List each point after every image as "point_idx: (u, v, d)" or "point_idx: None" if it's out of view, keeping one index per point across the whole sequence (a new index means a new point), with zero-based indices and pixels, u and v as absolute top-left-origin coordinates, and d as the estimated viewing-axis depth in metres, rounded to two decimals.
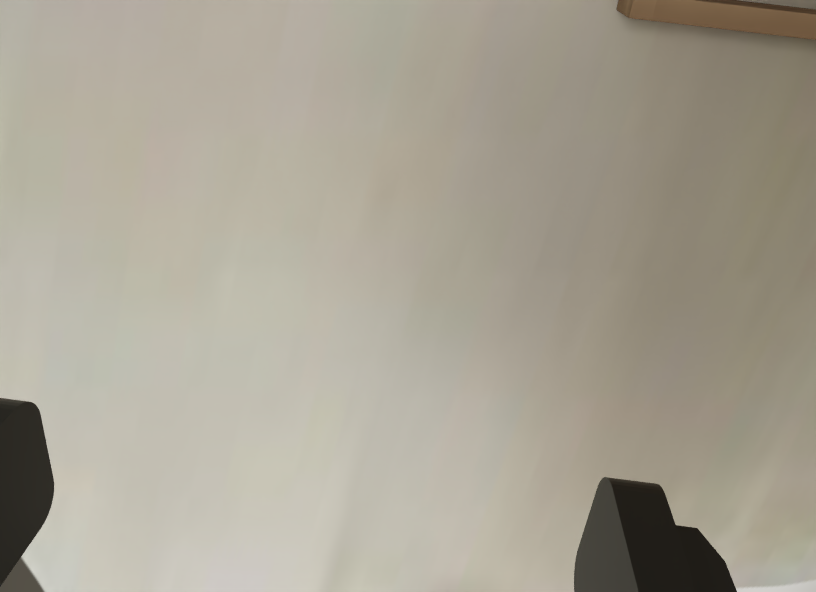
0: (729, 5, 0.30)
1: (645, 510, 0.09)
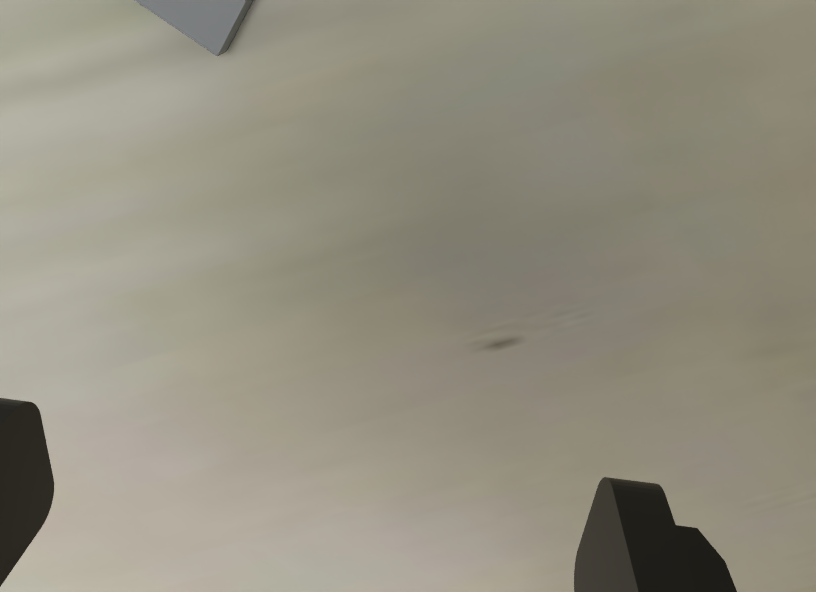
0: None
1: (645, 510, 0.09)
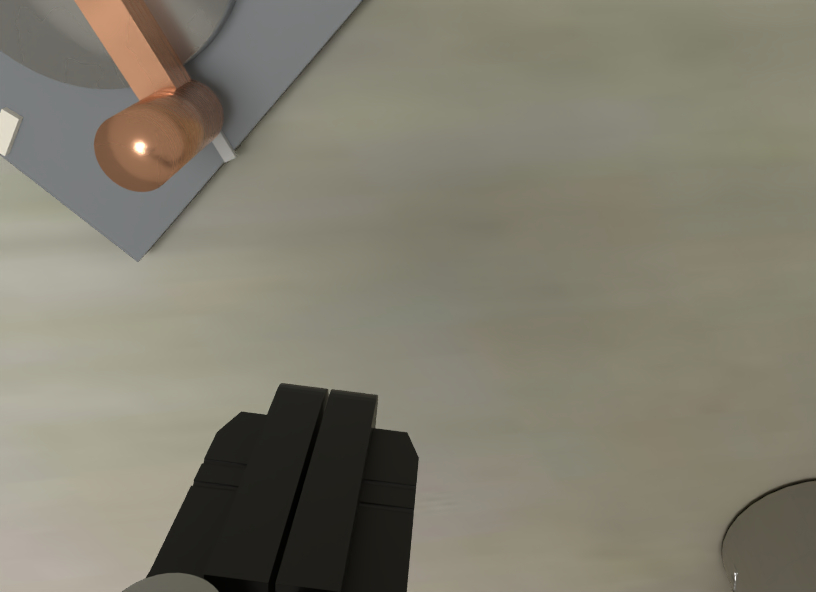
0: None
1: (350, 413, 0.10)
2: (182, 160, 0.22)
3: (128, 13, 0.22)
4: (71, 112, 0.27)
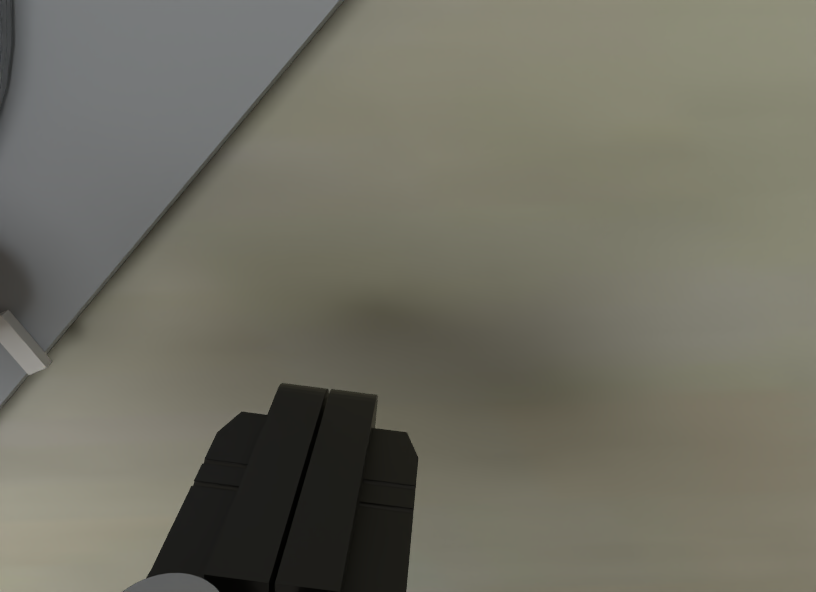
0: None
1: (349, 413, 0.10)
2: None
3: None
4: None
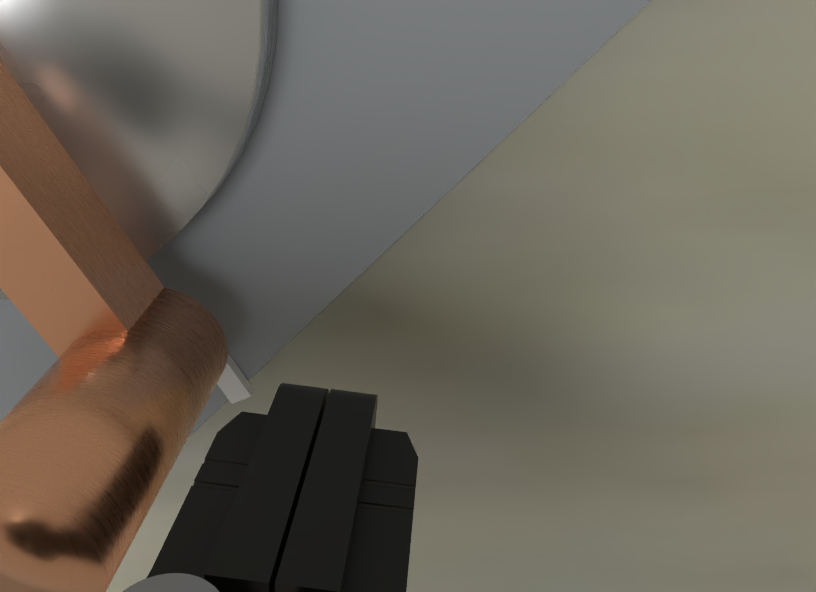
0: None
1: (349, 413, 0.10)
2: (134, 536, 0.10)
3: (17, 187, 0.10)
4: None
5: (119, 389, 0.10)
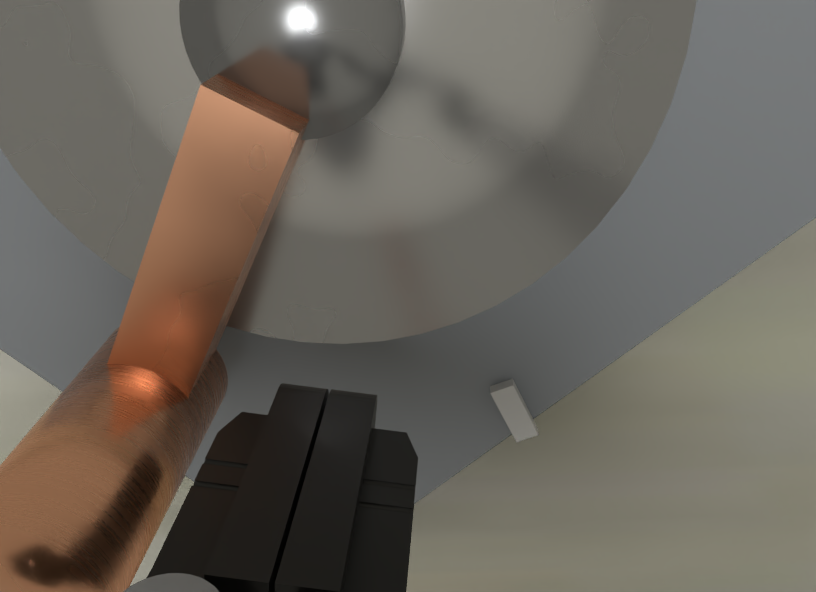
0: None
1: (349, 413, 0.10)
2: None
3: (237, 268, 0.10)
4: (236, 354, 0.15)
5: (170, 471, 0.11)
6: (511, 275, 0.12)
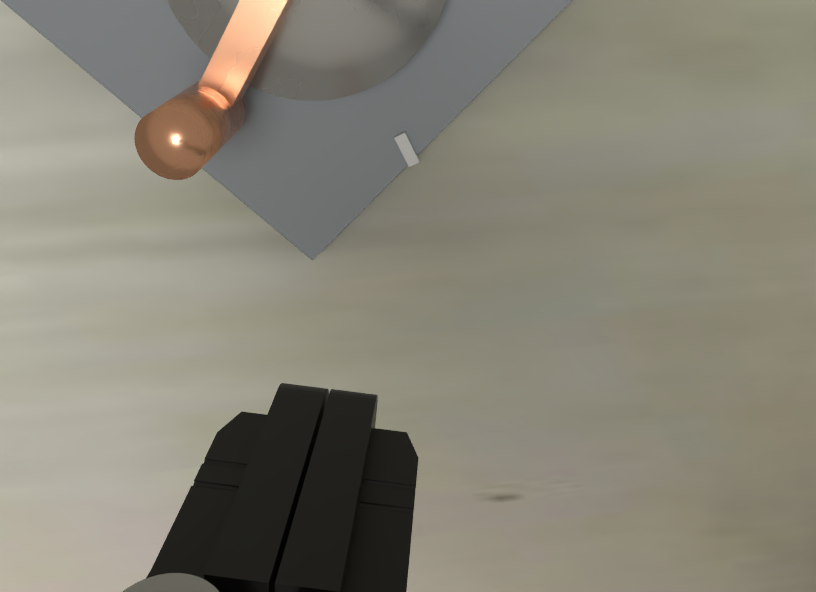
0: None
1: (349, 413, 0.10)
2: None
3: (262, 44, 0.25)
4: (267, 121, 0.29)
5: (224, 128, 0.25)
6: (381, 71, 0.27)
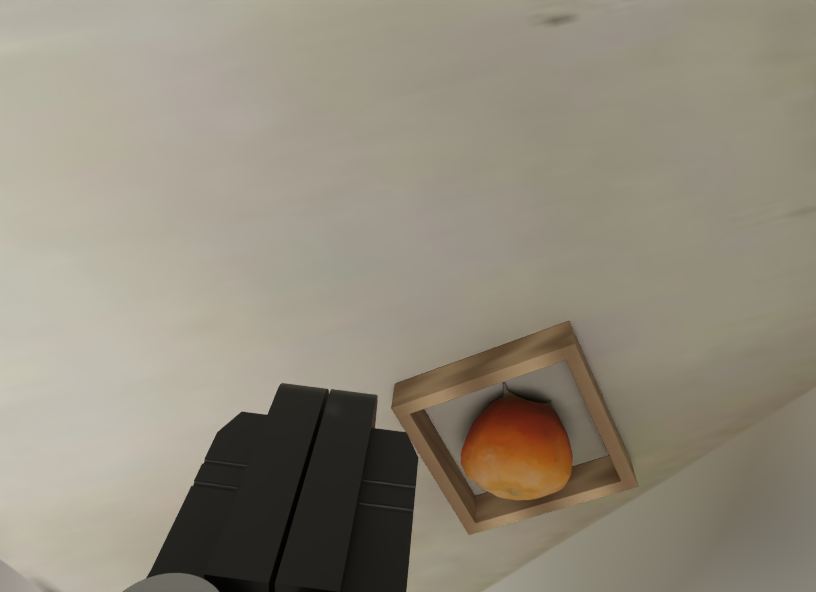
0: (427, 444, 0.52)
1: (349, 413, 0.10)
2: None
3: None
4: None
5: None
6: None
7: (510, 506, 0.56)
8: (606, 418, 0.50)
